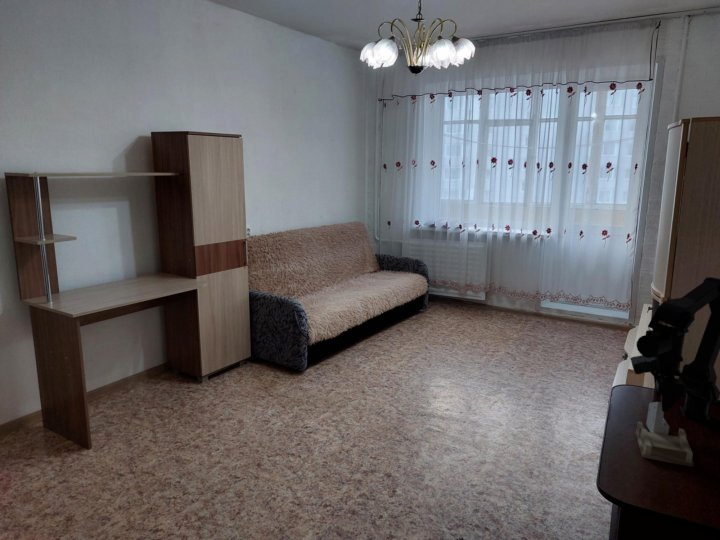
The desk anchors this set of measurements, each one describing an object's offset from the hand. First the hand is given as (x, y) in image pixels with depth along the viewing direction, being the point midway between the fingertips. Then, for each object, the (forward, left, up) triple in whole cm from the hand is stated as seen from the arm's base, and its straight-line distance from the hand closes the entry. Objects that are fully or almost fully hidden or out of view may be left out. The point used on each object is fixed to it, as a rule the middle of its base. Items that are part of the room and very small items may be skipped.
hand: (661, 403), depth 137 cm
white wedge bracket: (0, 0, -9) cm, 9 cm away
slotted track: (+9, 0, -8) cm, 12 cm away
